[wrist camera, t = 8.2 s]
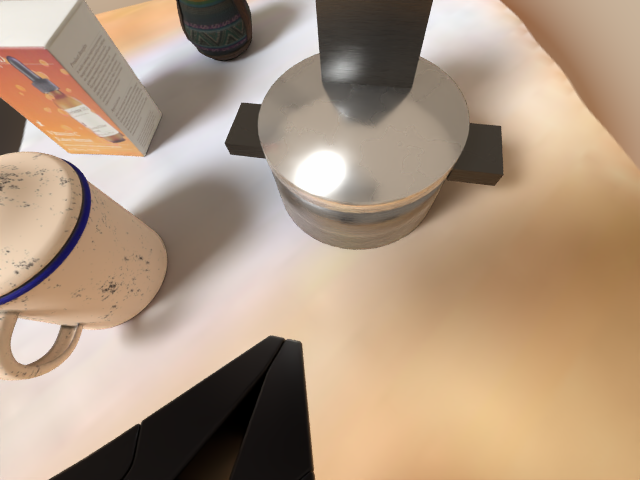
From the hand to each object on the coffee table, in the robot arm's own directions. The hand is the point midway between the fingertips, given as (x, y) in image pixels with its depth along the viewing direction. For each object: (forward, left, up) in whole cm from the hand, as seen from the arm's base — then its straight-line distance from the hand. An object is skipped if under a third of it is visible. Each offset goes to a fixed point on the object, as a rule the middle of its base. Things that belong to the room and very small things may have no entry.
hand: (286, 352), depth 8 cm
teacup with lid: (+12, +12, -13) cm, 21 cm away
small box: (+28, +8, -13) cm, 32 cm away
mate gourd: (+34, -6, -13) cm, 37 cm away
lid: (+11, -10, -7) cm, 17 cm away
